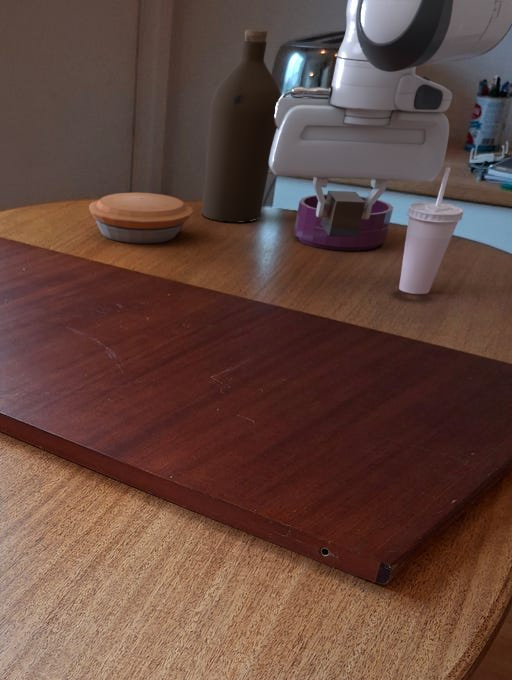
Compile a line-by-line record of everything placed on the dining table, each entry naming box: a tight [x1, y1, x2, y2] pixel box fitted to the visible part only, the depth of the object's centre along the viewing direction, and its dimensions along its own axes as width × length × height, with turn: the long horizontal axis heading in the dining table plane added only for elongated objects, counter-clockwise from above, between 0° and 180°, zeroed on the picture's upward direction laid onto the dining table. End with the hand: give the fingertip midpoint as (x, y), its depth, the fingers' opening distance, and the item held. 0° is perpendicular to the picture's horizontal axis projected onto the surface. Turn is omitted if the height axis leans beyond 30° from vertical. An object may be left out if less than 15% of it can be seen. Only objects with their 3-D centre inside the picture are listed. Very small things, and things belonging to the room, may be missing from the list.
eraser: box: [321, 190, 365, 237], centre depth 110 cm, size 6×4×4 cm, turn 175°
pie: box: [88, 192, 194, 245], centre depth 131 cm, size 15×16×5 cm
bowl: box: [293, 193, 394, 252], centre depth 130 cm, size 13×13×5 cm
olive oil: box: [201, 29, 282, 224], centre depth 135 cm, size 11×11×25 cm
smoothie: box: [398, 166, 464, 295], centre depth 108 cm, size 6×6×14 cm
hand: (342, 217), depth 110 cm, fingers closed on eraser, 3 cm apart
